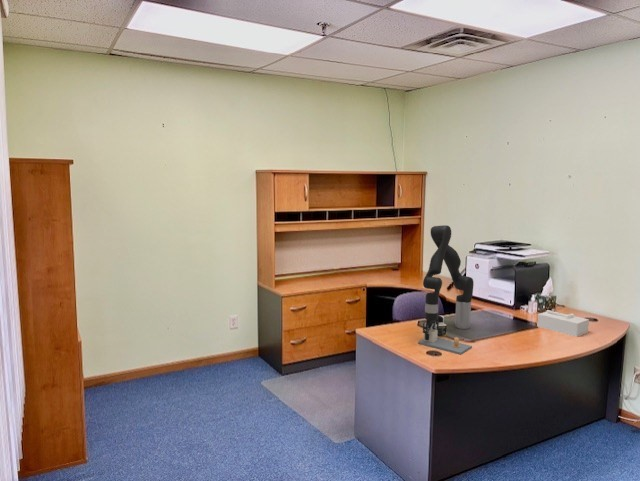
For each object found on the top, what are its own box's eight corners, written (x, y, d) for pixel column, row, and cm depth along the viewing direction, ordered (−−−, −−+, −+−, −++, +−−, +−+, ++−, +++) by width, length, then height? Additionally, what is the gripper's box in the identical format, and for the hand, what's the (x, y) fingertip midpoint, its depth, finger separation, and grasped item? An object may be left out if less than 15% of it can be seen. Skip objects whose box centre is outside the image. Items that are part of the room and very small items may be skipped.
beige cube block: (428, 337, 281) (429, 328, 280) (437, 340, 277) (437, 330, 276) (423, 340, 277) (424, 330, 276) (432, 342, 273) (432, 332, 272)
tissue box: (576, 337, 288) (578, 319, 287) (537, 327, 308) (538, 310, 307) (587, 332, 297) (589, 315, 296) (548, 323, 317) (549, 307, 316)
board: (430, 337, 285) (430, 327, 284) (471, 348, 268) (472, 337, 267) (418, 343, 275) (418, 333, 274) (460, 354, 257) (461, 343, 257)
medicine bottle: (435, 337, 286) (436, 317, 284) (430, 333, 293) (430, 314, 291) (446, 336, 288) (447, 317, 286) (440, 332, 295) (441, 313, 293)
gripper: (431, 307, 283) (430, 333, 285) (419, 312, 272) (418, 339, 274) (443, 309, 278) (442, 336, 280) (431, 314, 267) (430, 342, 269)
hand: (430, 338), depth 277 cm, fingers open, 8 cm apart
